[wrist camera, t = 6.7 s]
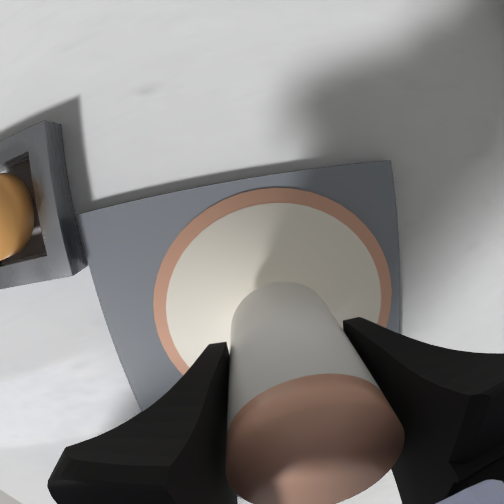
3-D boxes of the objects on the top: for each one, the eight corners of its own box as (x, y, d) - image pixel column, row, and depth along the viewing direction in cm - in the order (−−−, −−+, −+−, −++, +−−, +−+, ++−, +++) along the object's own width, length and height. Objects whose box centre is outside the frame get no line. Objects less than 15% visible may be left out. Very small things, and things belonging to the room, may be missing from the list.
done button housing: (86, 266, 14) (72, 275, 12) (-5, 284, 14) (-21, 293, 12) (60, 124, 12) (44, 120, 11) (-29, 166, 12) (-46, 167, 11)
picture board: (381, 461, 18) (384, 468, 17) (189, 492, 18) (188, 500, 17) (384, 160, 13) (392, 160, 13) (82, 213, 13) (75, 215, 13)
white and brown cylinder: (333, 360, 13) (393, 487, 6) (240, 377, 13) (244, 519, 6) (326, 272, 12) (415, 379, 5) (221, 291, 12) (204, 423, 5)
